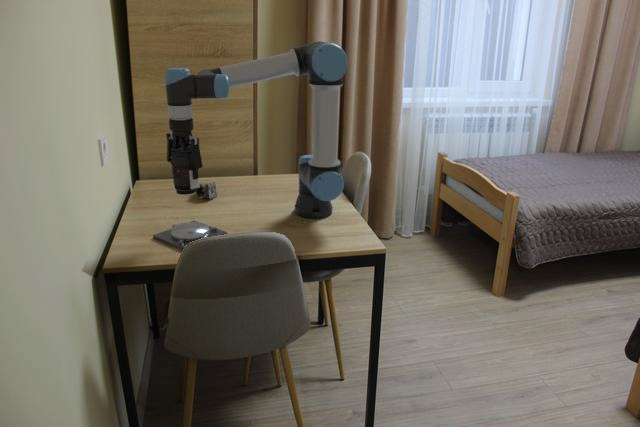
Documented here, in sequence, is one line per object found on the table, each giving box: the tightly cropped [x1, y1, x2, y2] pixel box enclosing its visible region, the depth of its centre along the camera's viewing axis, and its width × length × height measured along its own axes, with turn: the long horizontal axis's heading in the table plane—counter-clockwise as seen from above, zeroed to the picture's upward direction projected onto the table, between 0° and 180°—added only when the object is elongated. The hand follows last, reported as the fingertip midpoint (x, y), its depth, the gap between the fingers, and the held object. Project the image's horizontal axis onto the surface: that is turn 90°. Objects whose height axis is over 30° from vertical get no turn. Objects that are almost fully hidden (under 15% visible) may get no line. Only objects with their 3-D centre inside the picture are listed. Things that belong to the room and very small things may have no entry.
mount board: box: [152, 220, 228, 251], centre depth 179 cm, size 18×18×3 cm
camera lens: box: [170, 146, 197, 196], centre depth 171 cm, size 8×8×15 cm
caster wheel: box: [195, 181, 218, 200], centre depth 220 cm, size 7×11×10 cm
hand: (186, 185), depth 173 cm, fingers closed on camera lens, 8 cm apart
